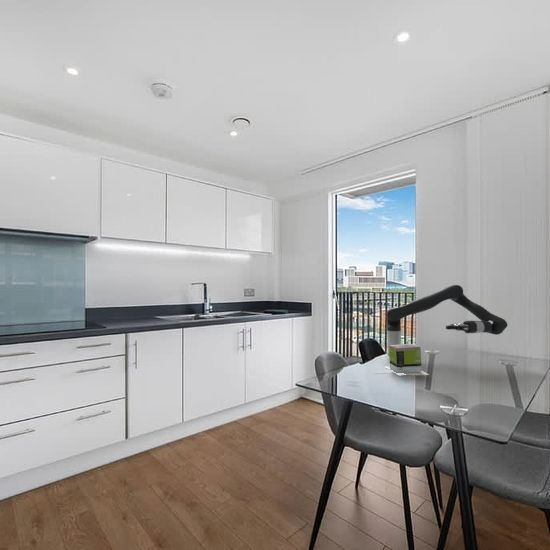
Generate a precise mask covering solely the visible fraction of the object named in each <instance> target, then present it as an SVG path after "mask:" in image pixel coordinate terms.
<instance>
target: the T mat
mask: <svg viewBox="0 0 550 550" xmlns="http://www.w3.org/2000/svg"><path fill="white" fill-rule="evenodd" d="M384 369H385V370H388V369H390V365H389V366H386V365H385V366H384ZM390 370H391V369H390ZM404 374H406V375H412V376H415V375H416V376H429V375H430V373H427V372H425V371H423V370H422V372H408V373H404ZM416 376H415V377H416Z"/></svg>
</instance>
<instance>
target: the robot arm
mask: <svg viewBox="0 0 550 550" xmlns="http://www.w3.org/2000/svg"><path fill="white" fill-rule="evenodd" d="M447 300H451V301H453V302H454V303H456V304H458V305H460V306H461V307H463V308H464V309H466V310H467V311H469V312H470V313H471V314H472V315H474V317H476V318H478V320H465V321H463V322H461V323H460V322H459V323H451V324H450V325H449V324H448V325H445V330H454V331H461V332H464V333H466V334H479V333H480V334H481V333H485V334H486V333H487V334H492V335H498V336H499V335H501V334H503V332H504V331H505V330H506V328H507V327H508V326H509V325H508V322H507V320H506V319H504V318H502V317H501V316H498V315H495V314H493V313H491V312H490V311H488V310H487V309H486V308H484V307H483V306H481V305H480V304H478V303H476V302H474V301H472V300H470V299H469V298H468V297H467V296H466V295H465V294H464V288H463V287H462V286H461V285H459V284H452V285H450V286H448V287H445V288H443V289H441V290H439V291H436V292H433V293H431V294H427V295H425V296H421V297H419V298H417V299H414V300H413V301H411V302H409V303H407V304H405V305H403V306H398V307H390V308H389V309H387V312H386V333H387V334H386V339H387V341H386V342H387V343H386V344H387V346H386V347H387V349H386V350H387V355H388V356H389V345H401V344H402V320H401V319H403V318H406V317H409V316H411V315H415V314H419V313H422V312H426V311H428V310H430V309H431V310H432V309H433V308H434V307H437V306H438V305H439V304H441V303H442V302H444V301H447ZM491 322H492V323H491Z"/></svg>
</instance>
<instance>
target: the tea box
mask: <svg viewBox="0 0 550 550" xmlns="http://www.w3.org/2000/svg"><path fill="white" fill-rule="evenodd" d="M421 350H422V349H421V346H419V345H416V344H413V343H406V344H402V343H401V345H389V355H388V357H389V358H388V359H389V366H390V369H391V370H393V371H394V372H396V373H408V372H422V371H423V369H422V353H421Z"/></svg>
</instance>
